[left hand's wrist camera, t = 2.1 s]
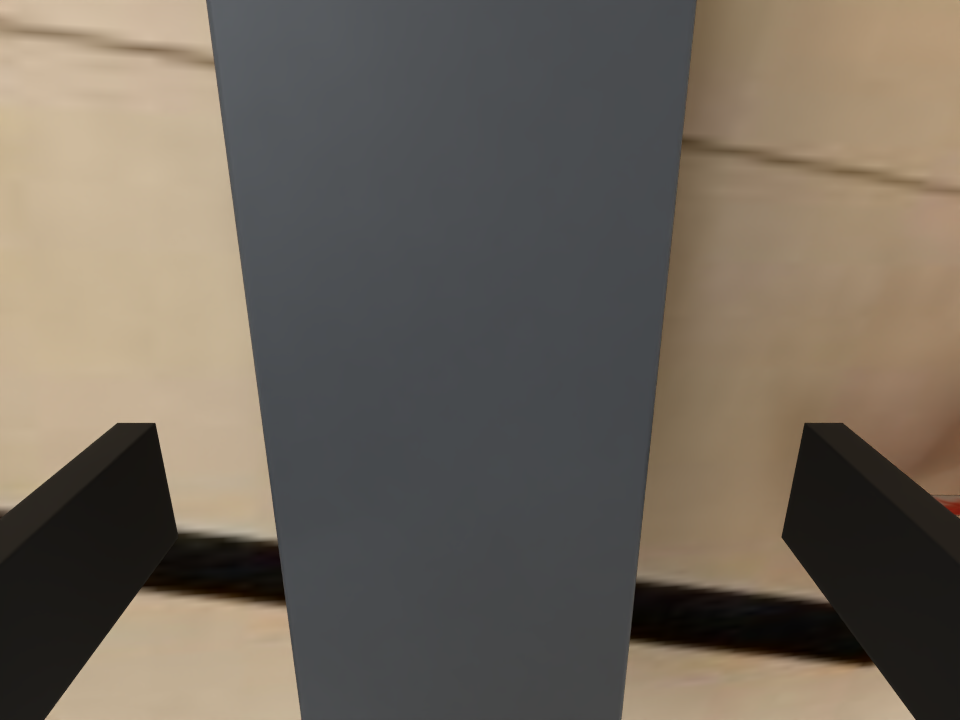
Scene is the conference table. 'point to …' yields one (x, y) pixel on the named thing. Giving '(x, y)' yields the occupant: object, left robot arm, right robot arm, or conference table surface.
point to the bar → (456, 334)
